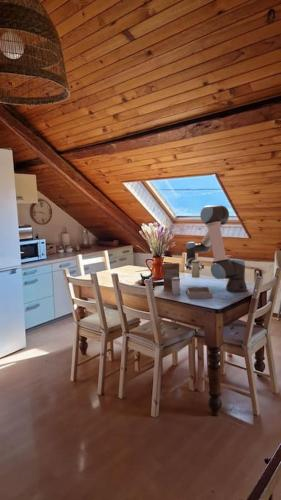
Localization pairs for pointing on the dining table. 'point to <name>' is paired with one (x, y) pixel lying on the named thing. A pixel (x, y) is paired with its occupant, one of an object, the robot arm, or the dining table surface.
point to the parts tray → (199, 292)
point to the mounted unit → (170, 274)
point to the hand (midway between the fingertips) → (196, 269)
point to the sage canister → (195, 269)
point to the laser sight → (147, 278)
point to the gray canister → (175, 286)
